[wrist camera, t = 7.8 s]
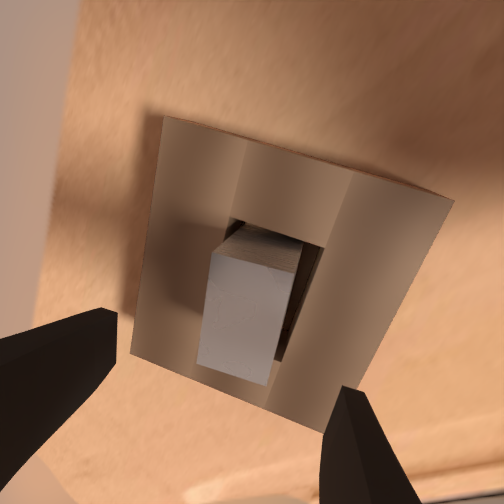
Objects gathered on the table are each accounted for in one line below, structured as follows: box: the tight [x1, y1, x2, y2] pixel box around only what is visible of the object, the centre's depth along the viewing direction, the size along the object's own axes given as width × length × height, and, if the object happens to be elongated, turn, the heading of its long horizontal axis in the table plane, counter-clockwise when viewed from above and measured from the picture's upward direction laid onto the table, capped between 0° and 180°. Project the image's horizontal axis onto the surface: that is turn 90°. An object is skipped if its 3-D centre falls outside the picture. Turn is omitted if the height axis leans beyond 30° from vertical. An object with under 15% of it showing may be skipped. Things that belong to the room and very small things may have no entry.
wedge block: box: [196, 222, 304, 386], centre depth 14 cm, size 3×5×6 cm, turn 169°
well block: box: [130, 116, 454, 434], centre depth 16 cm, size 12×13×3 cm
